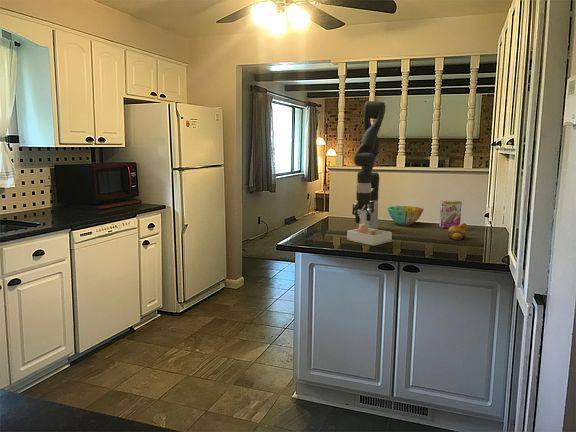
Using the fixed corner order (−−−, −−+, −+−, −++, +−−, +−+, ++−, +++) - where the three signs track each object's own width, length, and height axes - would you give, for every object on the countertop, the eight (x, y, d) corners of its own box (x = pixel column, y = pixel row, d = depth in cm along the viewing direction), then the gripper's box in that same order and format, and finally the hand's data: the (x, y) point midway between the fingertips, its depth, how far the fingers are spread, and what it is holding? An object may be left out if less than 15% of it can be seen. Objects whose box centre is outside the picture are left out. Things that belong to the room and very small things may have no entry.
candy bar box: (440, 228, 274) (442, 201, 271) (439, 226, 279) (440, 200, 276) (460, 228, 273) (461, 201, 270) (458, 227, 277) (459, 200, 275)
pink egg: (356, 237, 243) (356, 224, 242) (362, 236, 246) (363, 223, 245) (363, 239, 239) (364, 225, 238) (370, 237, 242) (370, 224, 241)
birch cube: (368, 240, 237) (368, 230, 236) (374, 238, 240) (374, 229, 239) (376, 241, 233) (376, 231, 232) (382, 240, 236) (382, 230, 236)
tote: (347, 240, 242) (347, 230, 241) (365, 236, 251) (365, 227, 250) (373, 245, 229) (373, 235, 228) (391, 241, 238) (391, 232, 237)
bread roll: (463, 241, 238) (464, 226, 236) (444, 239, 243) (444, 224, 241) (467, 237, 249) (468, 222, 247) (449, 235, 254) (449, 221, 252)
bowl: (388, 220, 302) (389, 205, 300) (424, 222, 295) (424, 206, 293) (384, 226, 281) (384, 210, 280) (421, 228, 274) (422, 211, 272)
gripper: (367, 189, 246) (366, 219, 249) (349, 191, 237) (348, 222, 240) (378, 190, 240) (377, 221, 243) (360, 193, 231) (359, 224, 234)
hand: (362, 221), depth 242 cm, fingers open, 8 cm apart
